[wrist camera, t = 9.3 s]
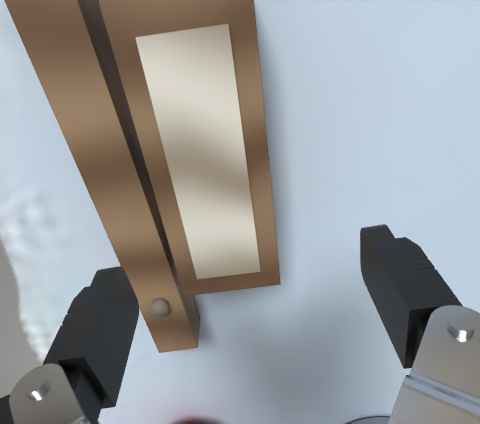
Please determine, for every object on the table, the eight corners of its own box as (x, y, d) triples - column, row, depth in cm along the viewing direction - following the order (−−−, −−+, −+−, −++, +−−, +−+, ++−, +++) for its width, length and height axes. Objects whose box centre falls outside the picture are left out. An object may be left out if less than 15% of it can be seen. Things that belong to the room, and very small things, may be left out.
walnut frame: (271, 236, 27) (280, 286, 23) (190, 246, 27) (183, 298, 23) (245, -22, 19) (251, -22, 14) (126, -4, 19) (96, 2, 14)
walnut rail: (200, 316, 31) (197, 354, 28) (164, 322, 31) (158, 359, 28) (34, -198, 15) (-14, -242, 12) (-37, -181, 15) (-103, -221, 12)
